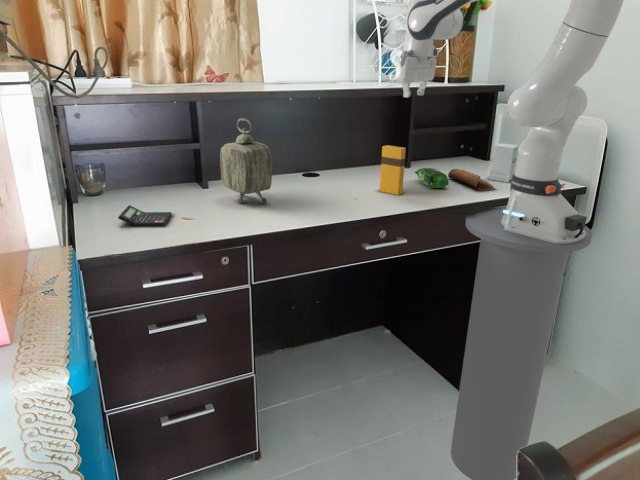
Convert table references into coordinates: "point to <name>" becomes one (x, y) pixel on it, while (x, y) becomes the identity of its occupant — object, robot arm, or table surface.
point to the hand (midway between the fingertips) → (413, 96)
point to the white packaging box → (503, 162)
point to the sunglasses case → (470, 179)
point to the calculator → (144, 217)
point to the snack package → (432, 177)
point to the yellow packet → (392, 169)
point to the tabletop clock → (246, 165)
